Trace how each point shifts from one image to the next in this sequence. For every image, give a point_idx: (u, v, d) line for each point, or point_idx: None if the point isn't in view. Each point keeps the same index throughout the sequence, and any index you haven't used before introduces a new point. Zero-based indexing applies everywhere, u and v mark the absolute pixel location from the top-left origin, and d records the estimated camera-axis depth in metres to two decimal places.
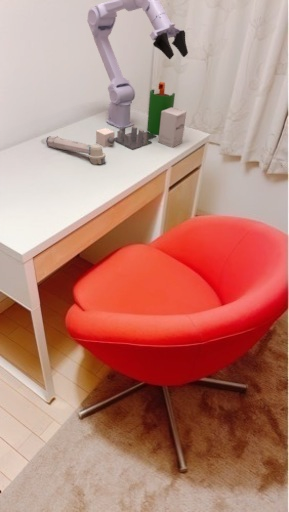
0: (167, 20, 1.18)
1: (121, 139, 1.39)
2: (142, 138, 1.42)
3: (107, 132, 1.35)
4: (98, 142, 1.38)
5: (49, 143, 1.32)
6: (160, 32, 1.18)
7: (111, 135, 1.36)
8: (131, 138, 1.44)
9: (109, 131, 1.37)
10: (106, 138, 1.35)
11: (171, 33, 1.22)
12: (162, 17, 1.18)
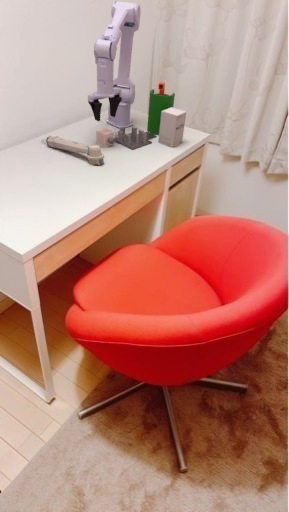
0: (109, 89, 1.24)
1: (121, 139, 1.39)
2: (142, 138, 1.42)
3: (107, 132, 1.35)
4: (98, 142, 1.38)
5: (49, 143, 1.32)
6: None
7: (111, 135, 1.36)
8: (131, 138, 1.44)
9: (109, 131, 1.37)
10: (106, 138, 1.35)
11: None
12: (106, 84, 1.23)
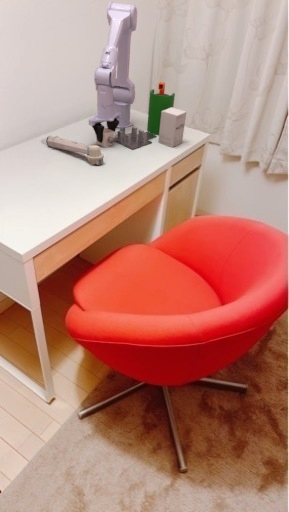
0: (109, 113, 1.30)
1: (121, 139, 1.39)
2: (142, 138, 1.42)
3: (107, 132, 1.35)
4: (98, 142, 1.38)
5: (49, 143, 1.32)
6: None
7: (111, 135, 1.36)
8: (131, 138, 1.44)
9: (109, 130, 1.37)
10: (106, 138, 1.35)
11: None
12: (106, 109, 1.28)
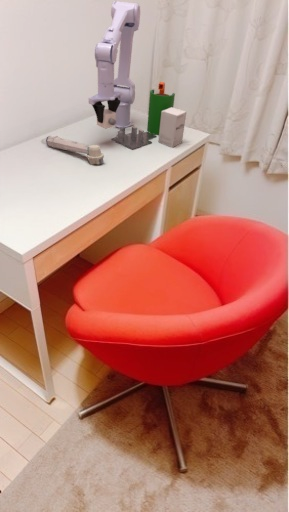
0: (110, 91, 1.25)
1: (121, 139, 1.39)
2: (142, 138, 1.42)
3: (108, 113, 1.31)
4: (99, 123, 1.33)
5: (49, 143, 1.32)
6: None
7: (112, 116, 1.32)
8: (131, 138, 1.44)
9: (110, 111, 1.32)
10: (107, 119, 1.31)
11: None
12: (107, 87, 1.24)
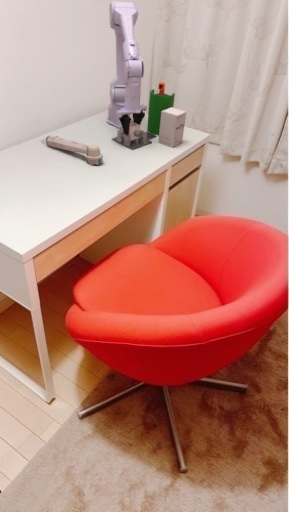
0: (137, 105, 1.31)
1: (121, 139, 1.39)
2: (142, 138, 1.42)
3: (133, 125, 1.37)
4: None
5: (48, 143, 1.32)
6: None
7: (137, 128, 1.38)
8: None
9: (135, 124, 1.38)
10: (132, 131, 1.36)
11: None
12: (134, 101, 1.29)
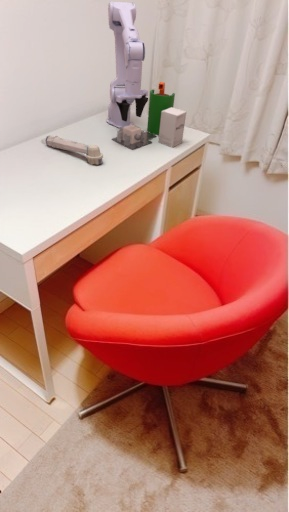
0: (137, 90, 1.27)
1: (121, 139, 1.39)
2: (142, 138, 1.42)
3: (134, 129, 1.38)
4: None
5: (48, 142, 1.32)
6: None
7: (138, 132, 1.39)
8: None
9: (136, 128, 1.39)
10: (133, 135, 1.38)
11: None
12: (135, 85, 1.26)
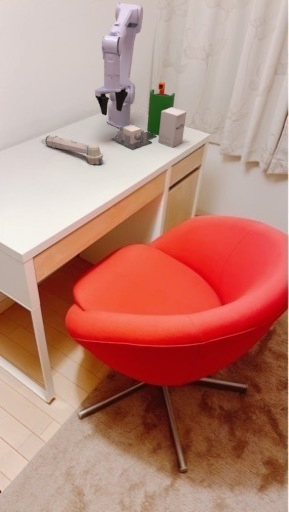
0: (116, 83, 1.28)
1: (121, 139, 1.39)
2: (142, 138, 1.42)
3: (134, 129, 1.38)
4: None
5: (48, 142, 1.32)
6: None
7: (138, 132, 1.39)
8: None
9: (136, 128, 1.39)
10: (133, 135, 1.38)
11: None
12: (113, 79, 1.26)
